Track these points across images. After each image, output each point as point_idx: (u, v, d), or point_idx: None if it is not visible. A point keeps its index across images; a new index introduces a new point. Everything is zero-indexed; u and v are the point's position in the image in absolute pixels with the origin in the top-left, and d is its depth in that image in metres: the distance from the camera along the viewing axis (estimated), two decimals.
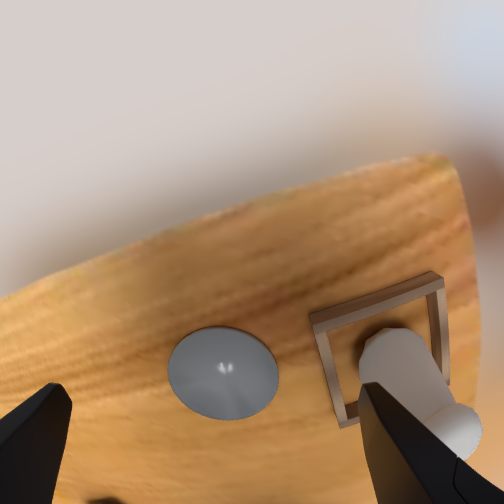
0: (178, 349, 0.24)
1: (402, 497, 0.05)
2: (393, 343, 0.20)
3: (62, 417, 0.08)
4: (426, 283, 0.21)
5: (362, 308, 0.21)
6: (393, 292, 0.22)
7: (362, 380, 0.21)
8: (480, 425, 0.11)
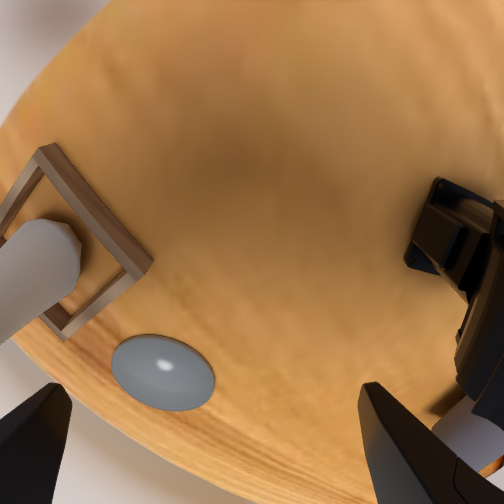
0: (154, 406, 0.26)
1: (402, 497, 0.05)
2: None
3: (62, 417, 0.08)
4: None
5: None
6: None
7: (66, 295, 0.18)
8: None
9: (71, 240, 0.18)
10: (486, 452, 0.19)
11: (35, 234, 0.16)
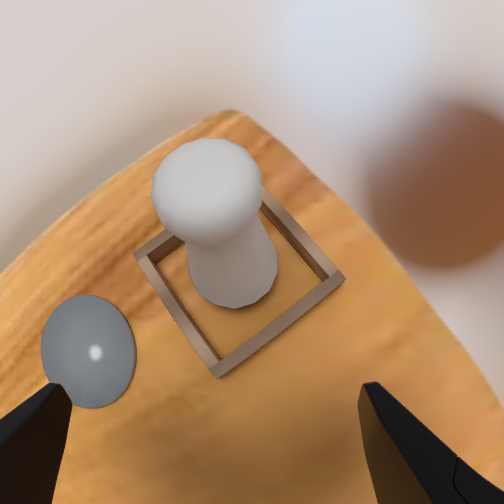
0: (46, 328, 0.22)
1: (402, 497, 0.05)
2: None
3: (62, 417, 0.08)
4: None
5: None
6: None
7: (196, 287, 0.20)
8: (225, 139, 0.12)
9: (252, 303, 0.21)
10: None
11: (270, 273, 0.19)
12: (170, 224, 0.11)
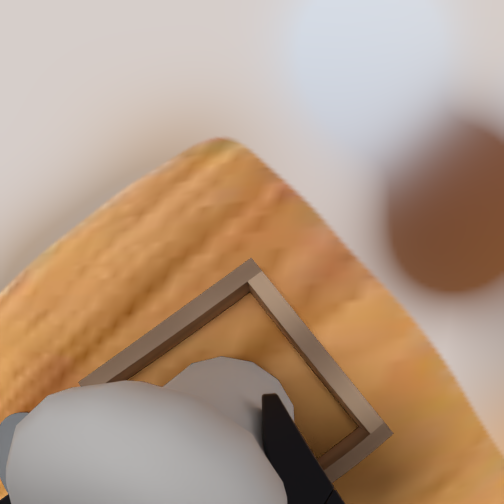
0: None
1: None
2: None
3: None
4: (224, 278, 0.15)
5: (133, 344, 0.14)
6: None
7: None
8: (167, 425, 0.03)
9: None
10: None
11: None
12: None
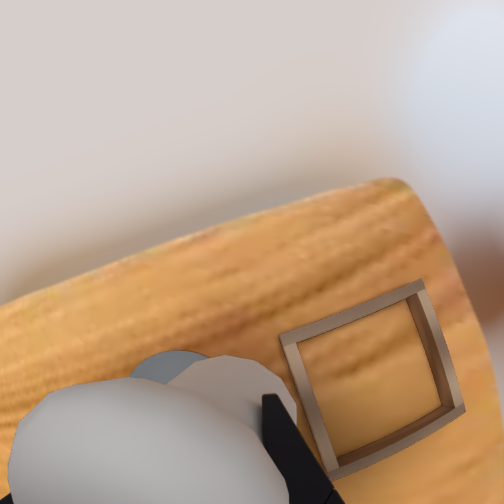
0: (135, 373, 0.20)
1: None
2: None
3: None
4: (403, 286, 0.20)
5: (334, 315, 0.20)
6: None
7: None
8: (168, 421, 0.03)
9: None
10: None
11: None
12: None
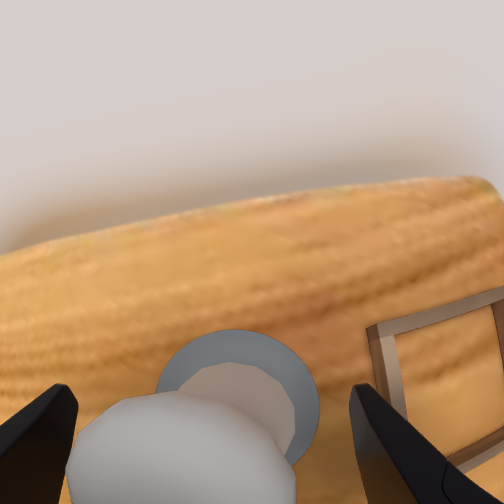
0: (183, 352, 0.17)
1: (391, 500, 0.05)
2: (188, 380, 0.13)
3: (68, 418, 0.07)
4: (496, 288, 0.16)
5: (434, 308, 0.15)
6: None
7: None
8: (212, 424, 0.04)
9: None
10: None
11: (286, 450, 0.11)
12: None
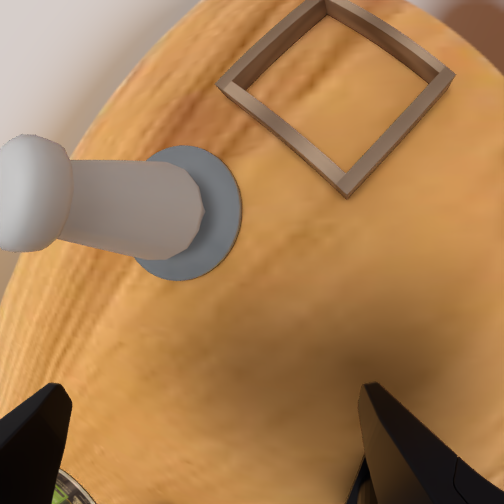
0: None
1: (402, 497, 0.05)
2: None
3: (62, 417, 0.08)
4: None
5: (255, 45, 0.17)
6: None
7: (140, 257, 0.18)
8: (7, 142, 0.08)
9: (197, 232, 0.18)
10: None
11: (183, 194, 0.16)
12: (11, 249, 0.09)
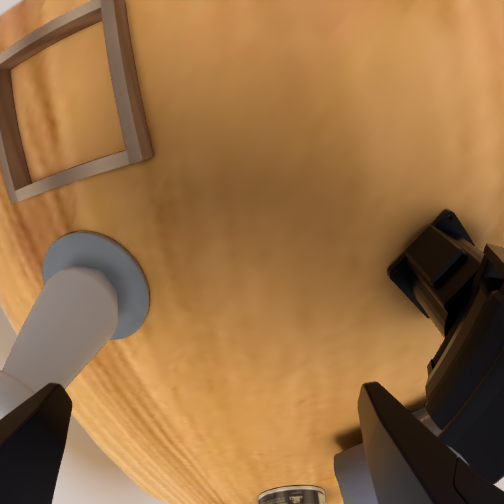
0: None
1: (402, 497, 0.05)
2: None
3: (62, 417, 0.08)
4: None
5: None
6: None
7: (106, 342, 0.19)
8: None
9: (109, 290, 0.19)
10: None
11: (73, 288, 0.17)
12: None
